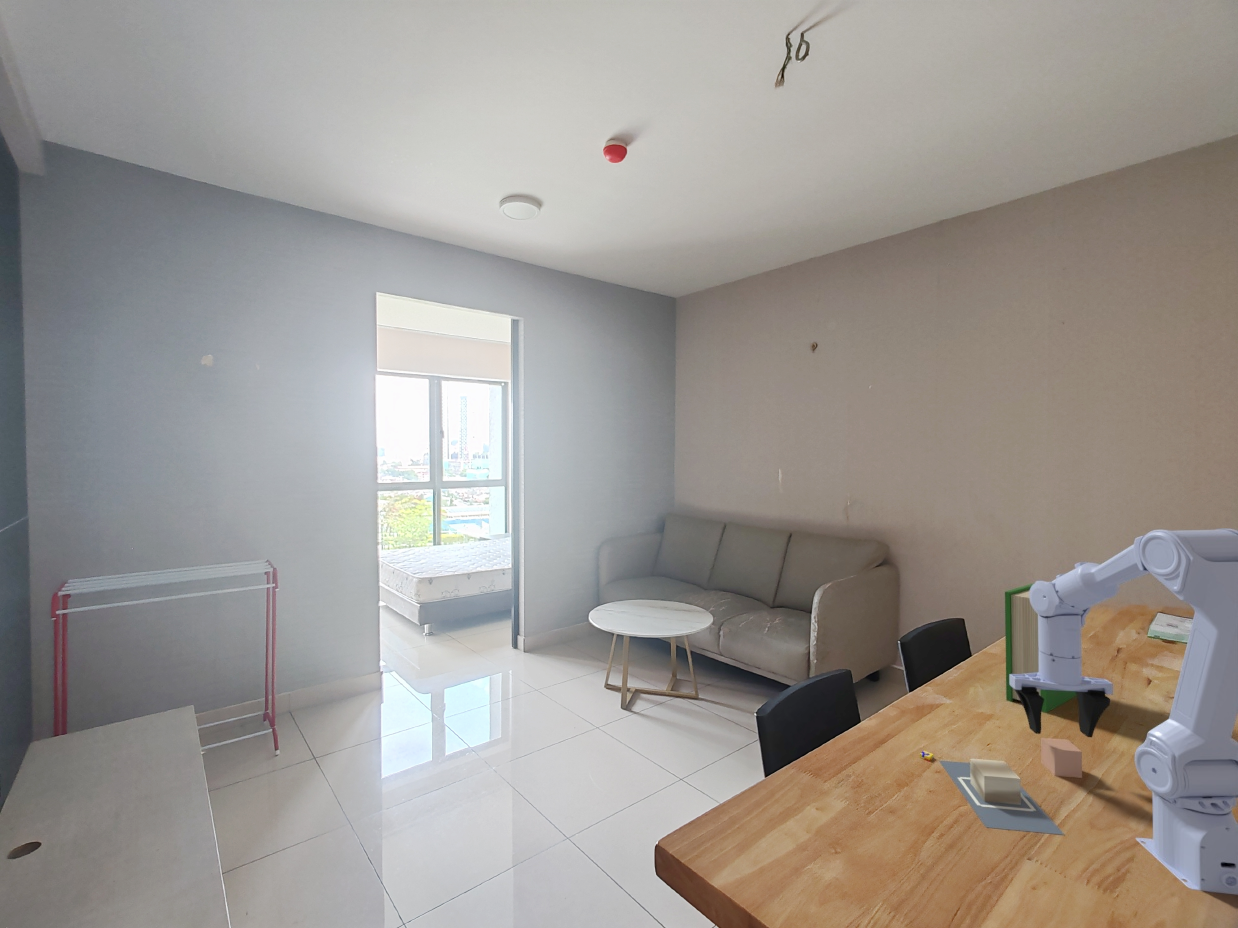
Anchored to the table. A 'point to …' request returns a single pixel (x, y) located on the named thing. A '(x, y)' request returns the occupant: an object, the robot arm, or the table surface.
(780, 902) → the table surface
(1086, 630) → the table surface
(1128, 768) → the table surface
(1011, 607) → the hardback book
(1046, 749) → the terracotta block
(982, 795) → the birch base block
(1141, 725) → the table surface
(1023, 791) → the board
